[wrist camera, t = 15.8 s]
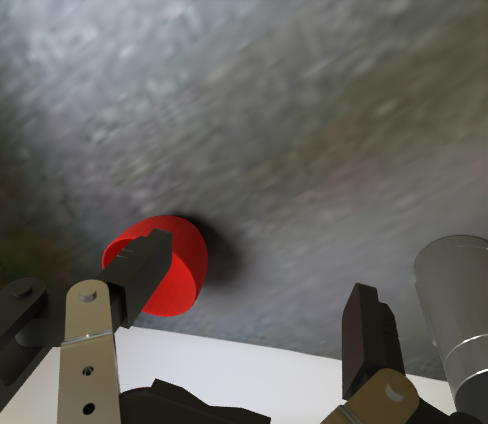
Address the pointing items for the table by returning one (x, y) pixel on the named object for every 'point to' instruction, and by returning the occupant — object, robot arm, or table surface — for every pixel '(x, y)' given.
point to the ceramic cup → (182, 267)
